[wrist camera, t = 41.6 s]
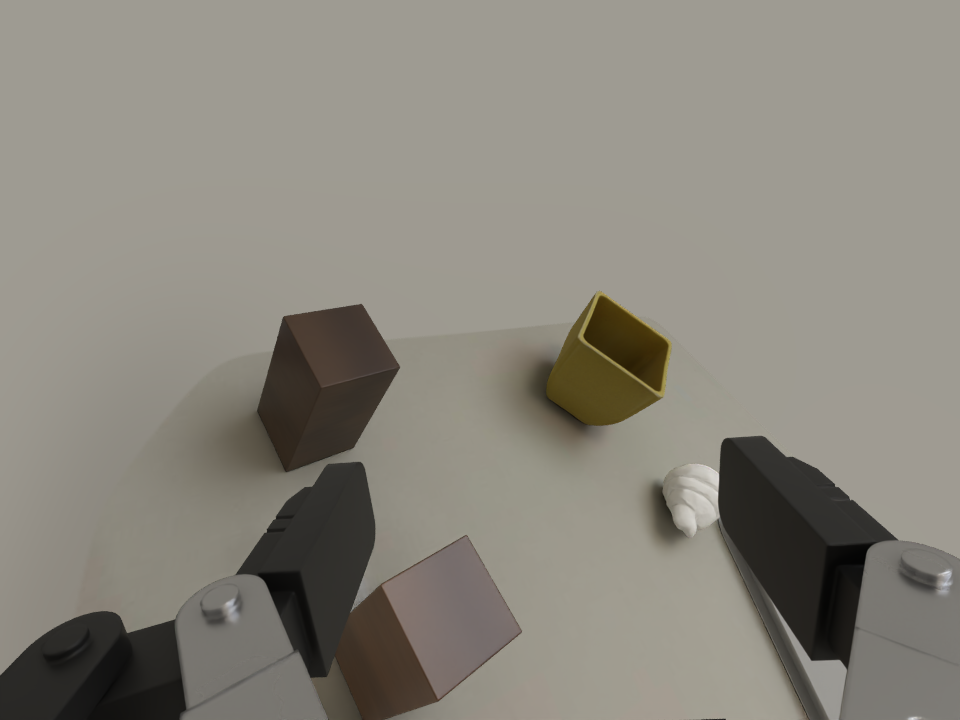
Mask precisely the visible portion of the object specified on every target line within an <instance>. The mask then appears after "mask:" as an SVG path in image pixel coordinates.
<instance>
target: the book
mask: <svg viewBox="0 0 960 720" xmlns="http://www.w3.org/2000/svg"><path fill="white" fill-rule="evenodd" d="M718 521H719V525H720V529H721V532H722V535H723V537H724V539H725V541H726V543H727V546H728V548H729V550H730V552H731V554H732V556H733V558H734V560H735V563H736V565H737V567H738V569H739V571H740V573H741V575H742V577H743V579H744V582H745V584H746V586H747V588H748V590H749V592H750V594H751V596H752V599H753V601H754V603H755V605H756V607H757V609H758V611H759V613H760V616H761V618H762V620H763V622H764V624H765V626H766V628H767V630H768V633H769V635H770V637H771V639H772V641H773V643H774V645H775V647H776V650H777V652H778V654H779V656H780V658H781V660H782V662H783V664H784V666H785V669H786V671H787V673H788V675H789V677H790V679H791V681H792V683H793V686H794V688H795V690H796V692H797V694H798V696H799V698H800V700H801V703H802V705H803V707H804V709H805V711H806V713H807V715H808V717H809V720H839V715H840V709H841V703H842V696H843V690H844V684H845V678H846V672H847V669H846V668H845V666H844V665H843V663H842V662H841V661H840V660H825V661H811V660H810V658H809V657H808V655H807V654H806V652H805V650H804V649H803V647H802V646H801V644H800V643H799V641H798V640H797V638H796V637H795V635H794V634H793V632H792V631H791V629H790V628H789V626H788V625H787V623H786V622H785V620H784V619H783V617H782V616H781V614H780V613H779V611H778V610H777V608H776V606H775V605H774V603H773V602H772V600H771V599H770V597H769V596H768V594H767V593H766V591H765V590H764V588H763V587H762V585H761V584H760V582H759V581H758V579H757V578H756V576H755V575H754V573H753V572H752V570H751V569H750V567H749V566H748V564H747V562H746V561H745V559H744V558H743V556H742V555H741V553H740V552H739V550H738V549H737V547H736V546H735V544H734V543H733V541H732V540H731V538H730V537H729V535H728V534H727V532H726V530H725V529H724V527H723V524H722V522H721V518H720V517H719V518H718Z"/></svg>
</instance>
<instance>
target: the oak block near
mask: <svg viewBox="0 0 960 720" xmlns="http://www.w3.org/2000/svg"><path fill="white" fill-rule="evenodd" d="M399 368H400V366H399V364H398V363H397V361H396V359H395V358H394V356H393V354H392V353H391V351H390V349H389V348H388V346H387V344H386V343H385V341H384V339H383V338H382V336H381V335H380V333H379V332H378V330H377V328H376V326H375V325H374V323H373V321H372V320H371V318H370V316H369V315H368V313H367V311H366V310H365V308H364V306H363V305H362V304H359V305H353V306H346V307H340V308H333V309H327V310H321V311H314V312H308V313H302V314H295V315H289V316H284V317H283V319H282V323H281V326H280V330H279V334H278V337H277V341H276V345H275V348H274V352H273V355H272V359H271V363H270V366H269V370H268V374H267V377H266V381H265V384H264V388H263V392H262V395H261V399H260V403H259V406H258V413H259V415H260V417H261V419H262V421H263V423H264V426H265V428H266V430H267V432H268V434H269V436H270V438H271V441H272V443H273V445H274V447H275V449H276V451H277V453H278V455H279V458H280V460H281V462H282V464H283V466H284V468H285V470H286V472H288V471H290V470H293V469H296V468H299V467H301V466H304V465H307V464H310V463H312V462H315V461H318V460H321V459H323V458H326V457H329V456H332V455H334V454H337V453H340V452H343V451H345V450H348V449H351V448H354V446H355V444H356V443H357V441H358V439H359V438H360V436H361V434H362V432H363V431H364V429H365V427H366V425H367V424H368V422H369V420H370V419H371V417H372V415H373V413H374V412H375V410H376V408H377V406H378V405H379V403H380V401H381V400H382V398H383V396H384V394H385V393H386V391H387V389H388V387H389V386H390V384H391V382H392V381H393V379H394V377H395V375H396V374H397V372H398V370H399Z"/></svg>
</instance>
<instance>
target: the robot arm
mask: <svg viewBox="0 0 960 720" xmlns="http://www.w3.org/2000/svg"><path fill="white" fill-rule="evenodd" d="M718 509H719V514H720V518H721V522H722V524H723V527H724V529H725V530H726V532H727V534H728V535H729V537H730V538H731V540H732V541H733V543H734V544H735V546H736V547H737V549H738V550H739V552H740V553H741V555H742V556H743V558H744V559H745V561H746V562H747V564H748V566H749V567H750V569H751V570H752V572H753V573H754V575H755V576H756V578H757V579H758V581H759V582H760V584H761V585H762V587H763V588H764V590H765V591H766V593H767V594H768V596H769V597H770V599H771V600H772V602H773V603H774V605H775V606H776V608H777V610H778V611H779V613H780V614H781V616H782V617H783V619H784V620H785V622H786V623H787V625H788V626H789V628H790V629H791V631H792V632H793V634H794V635H795V637H796V638H797V640H798V641H799V643H800V644H801V646H802V647H803V649H804V650H805V652H806V654H807V655H808V657H809V658H810V660H811V661H825V660H840V661H841V662H842V663H843V665H844V666H845V668H846V669H847V672H846V678H845V684H844V690H843V696H842V703H841V709H840V715H839V720H960V559H958V558H957V557H955V556H953V555H951V554H949V553H946V552H944V551H942V550H939V549H936V548H933V547H930V546H927V545H923V544H919V543H914V542H908V541H899V540H898V539H896V538H895V537H894V536H893V535H892V534H891V533H890V532H888V531H887V530H886V529H885V528H884V527H883V526H882V525H881V524H879V523H878V522H877V521H876V520H875V519H874V518H872V516H870V515H869V514H868V513H867V512H866V511H865V510H864V509H862V508H861V507H860V506H859V505H858V504H857V503H856V502H854V501H853V500H850V499H849V496H848V495H846V494H845V493H844V492H843V491H842V490H841V489H840V488H839V487H835V484H834V483H833V482H832V481H831V480H829V479H828V478H827V477H826V476H825V475H824V474H823V473H822V472H820V471H819V470H818V469H817V468H814V467H812V466H810V465H808V464H806V463H804V462H802V461H800V460H798V459H796V458H794V457H786V456H785V455H783V454H782V453H781V452H780V451H779V450H778V449H777V448H776V447H775V446H774V445H773V444H772V443H771V442H770V441H768V440H767V439H766V438H765V437H763V436H751V437H736V438H726V439H724V440H723V442H722V445H721V454H720V471H719V489H718ZM374 542H375V519H374V514H373V508H372V503H371V498H370V493H369V487H368V482H367V477H366V472H365V468H364V466H363V464H362V463H361V462H352V463H337V464H328V465H327V466H326V467H325V468H324V470H323V471H322V473H321V475H320V476H319V478H318V479H317V481H316V482H315V484H314V485H313V487H304V488H303V489H302V490H301V491H299V492H298V493H297V494H295V495H294V496H293V497H291V498H290V499H289V500H287V501H286V503H285V504H284V506H283V507H282V509H281V510H280V511H279V513H278V514H277V516H276V520H273V522H272V523H271V524H270V526H269V527H268V529H267V533H264V535H263V536H262V537H261V539H260V540H259V542H258V543H257V545H256V546H255V547H254V549H253V550H252V552H251V553H250V555H249V556H248V558H247V559H246V560H245V562H244V563H243V565H242V566H241V568H240V569H239V571H238V572H237V573H236V575H234V576H230V577H226V578H223V579H220V580H218V581H215V582H213V583H211V584H209V585H208V586H206V587H204V588H203V589H201V590H200V591H198V592H197V593H195V594H194V595H193V596H192V597H191V598H189V599H188V600H187V602H186V603H185V604H184V605H183V606H182V607H181V609H180V610H179V612H178V614H177V616H176V619H175V620H172V621H169V622H165V623H162V624H158V625H155V626H151V627H148V628H144V629H141V630H137V631H134V632H130V633H127V632H126V630H125V627H124V625H123V622H122V620H121V618H120V616H119V615H117V614H116V613H113V612H108V611H101V612H94V613H89V614H85V615H82V616H79V617H76V618H74V619H72V620H69V621H67V622H65V623H63V624H61V625H59V626H57V627H56V628H54V629H52V630H51V631H49V632H47V633H46V634H44V635H43V636H42V637H40V638H39V639H38V640H36V641H35V642H34V643H33V644H31V645H30V646H29V647H28V648H27V649H26V650H25V651H24V652H23V653H22V654H21V655H20V656H19V657H18V658H17V659H16V660H15V661H14V662H13V663H12V664H11V665H10V666H9V667H8V668H7V669H6V670H5V671H4V672H3V673H2V674H1V675H0V720H328V717H327V715H326V713H325V711H324V708H323V706H322V704H321V701H320V699H319V697H318V694H317V692H316V690H315V687H314V685H313V683H312V680H311V678H313V677H327V675H328V672H329V670H330V667H331V664H332V661H333V659H334V656H335V653H336V650H337V647H338V645H339V642H340V639H341V636H342V634H343V631H344V628H345V625H346V622H347V620H348V617H349V614H350V611H351V609H352V606H353V603H354V600H355V597H356V595H357V592H358V589H359V586H360V584H361V581H362V578H363V575H364V572H365V570H366V567H367V564H368V561H369V559H370V556H371V553H372V550H373V547H374ZM703 720H726V719H703Z"/></svg>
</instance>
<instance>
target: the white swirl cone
mask: <svg viewBox="0 0 960 720" xmlns="http://www.w3.org/2000/svg"><path fill="white" fill-rule="evenodd" d="M718 489H719V474H718V473H717V472H716V471H715V470H714V469H712V468H710V467H708V466H705V465H701V464H686V465H683V466H680V467H678V468H674V469H673V470H671V471H670V472H669V473H668V474H667V476H666V477H665V479H664V482H663V490H662V492H663V495H664V498H665V500H666V501H667V503H666V504H667V506H668V507H669V509H670V511H671V513H672V515H673V521H674V523H675V525H676V526H677V528H678V529H680V530H682V531H683V532H684V533H685V535H686V536H687V537H688V538H692V537H693V536H694V535H695V533H696V531H699V530H703V529H705V528H706V527H708V526H709V525H711V524H712V523H713V522H714V521H716V520H717V519H718V518H719V517H720V514H719V509H718Z"/></svg>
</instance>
